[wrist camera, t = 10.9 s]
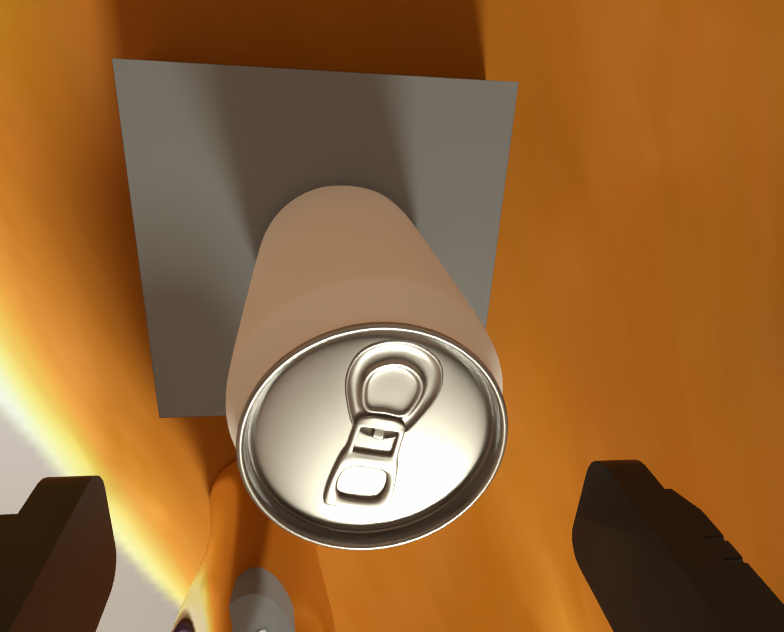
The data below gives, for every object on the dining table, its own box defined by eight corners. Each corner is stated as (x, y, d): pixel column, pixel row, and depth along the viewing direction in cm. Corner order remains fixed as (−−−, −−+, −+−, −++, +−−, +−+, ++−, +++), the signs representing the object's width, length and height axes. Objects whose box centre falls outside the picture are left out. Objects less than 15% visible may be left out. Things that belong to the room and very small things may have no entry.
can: (441, 204, 22) (576, 338, 11) (396, 349, 24) (471, 577, 13) (276, 162, 20) (243, 268, 10) (245, 320, 23) (189, 551, 12)
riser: (486, 80, 24) (518, 82, 20) (454, 366, 30) (475, 407, 26) (143, 60, 22) (111, 58, 18) (178, 371, 28) (159, 417, 24)
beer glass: (295, 555, 33) (289, 888, 20) (182, 521, 31) (88, 869, 18) (351, 469, 31) (387, 773, 18) (234, 426, 29) (174, 735, 16)
